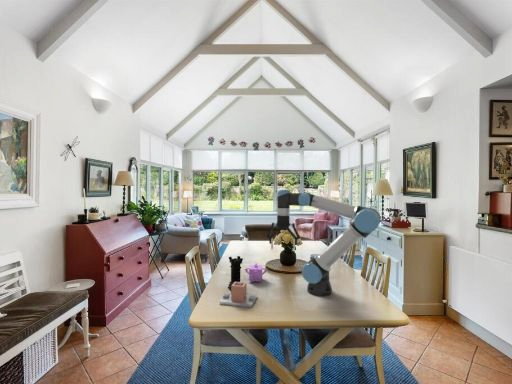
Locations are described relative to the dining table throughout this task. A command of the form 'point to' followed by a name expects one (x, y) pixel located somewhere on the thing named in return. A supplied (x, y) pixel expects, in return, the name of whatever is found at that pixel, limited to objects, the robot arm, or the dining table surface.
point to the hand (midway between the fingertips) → (283, 249)
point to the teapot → (255, 272)
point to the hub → (238, 291)
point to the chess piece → (235, 270)
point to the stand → (246, 303)
